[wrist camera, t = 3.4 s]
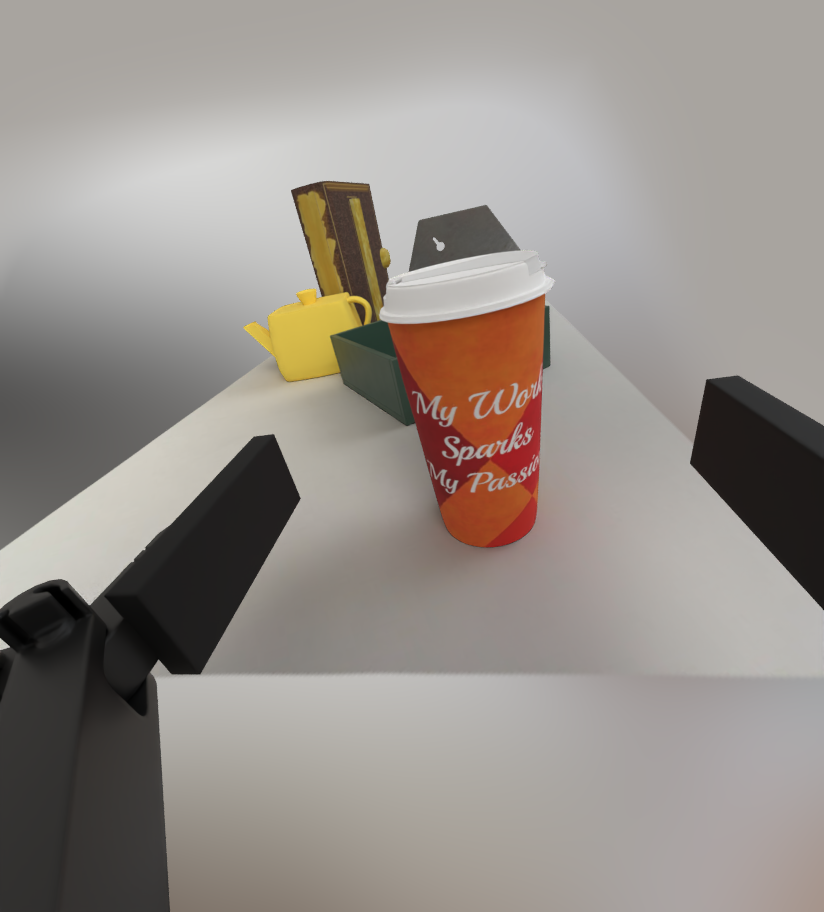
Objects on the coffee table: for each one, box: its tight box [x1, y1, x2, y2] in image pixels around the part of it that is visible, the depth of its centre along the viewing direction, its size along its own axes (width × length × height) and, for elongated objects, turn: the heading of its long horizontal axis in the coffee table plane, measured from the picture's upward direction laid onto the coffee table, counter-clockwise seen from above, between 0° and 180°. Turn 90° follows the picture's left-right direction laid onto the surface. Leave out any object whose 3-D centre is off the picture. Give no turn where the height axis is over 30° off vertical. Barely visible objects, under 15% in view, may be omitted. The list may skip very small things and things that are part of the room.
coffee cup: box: [379, 250, 555, 547], centre depth 22 cm, size 8×8×15 cm
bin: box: [330, 306, 550, 426], centre depth 49 cm, size 19×19×7 cm
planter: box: [409, 205, 520, 272], centre depth 66 cm, size 17×8×21 cm
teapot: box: [244, 289, 372, 382], centre depth 62 cm, size 20×12×12 cm, turn 91°
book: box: [291, 181, 390, 326], centre depth 73 cm, size 22×8×25 cm, turn 164°
